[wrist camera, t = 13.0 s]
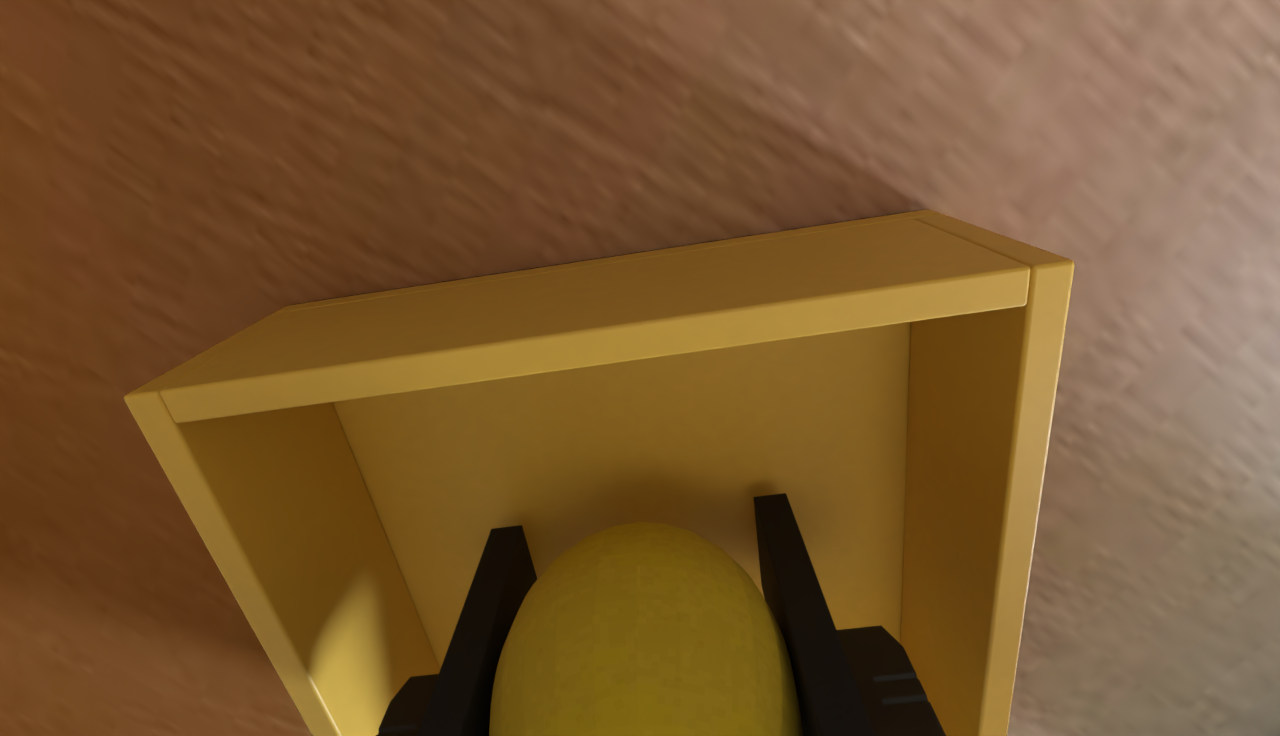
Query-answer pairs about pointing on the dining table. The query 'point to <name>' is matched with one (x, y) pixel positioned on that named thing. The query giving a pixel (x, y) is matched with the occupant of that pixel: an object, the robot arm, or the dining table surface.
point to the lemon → (644, 645)
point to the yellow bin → (635, 443)
